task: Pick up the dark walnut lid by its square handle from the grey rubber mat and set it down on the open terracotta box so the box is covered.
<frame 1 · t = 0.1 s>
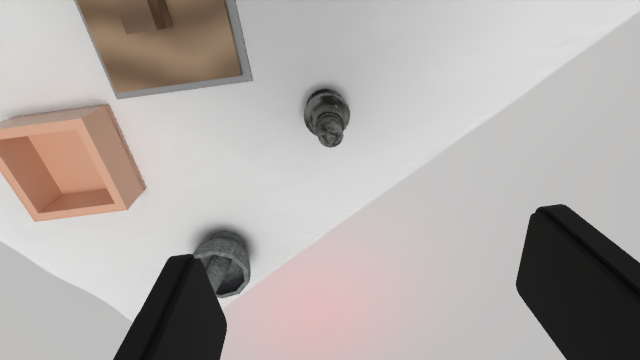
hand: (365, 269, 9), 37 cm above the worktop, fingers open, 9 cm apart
open terracotta box: (84, 154, 46), on the worktop
mortar and pestle: (225, 247, 56), on the worktop
rubber mat: (160, 13, 38), on the worktop
dark stone chess piece: (325, 107, 45), on the worktop
walnut lid: (159, 13, 38), resting on rubber mat
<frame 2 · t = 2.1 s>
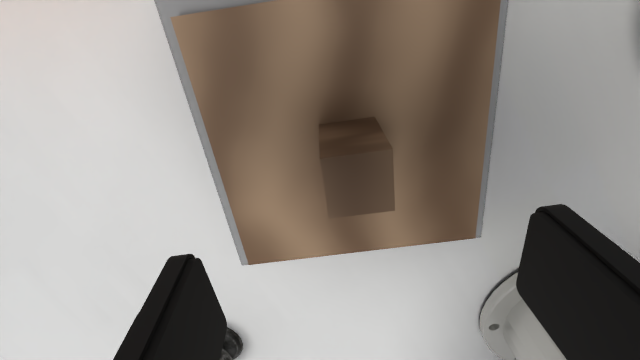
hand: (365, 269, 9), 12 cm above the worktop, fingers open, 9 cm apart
rubber mat: (346, 137, 20), on the worktop
dark stone chess piece: (214, 341, 30), on the worktop
walnut lid: (347, 139, 20), resting on rubber mat
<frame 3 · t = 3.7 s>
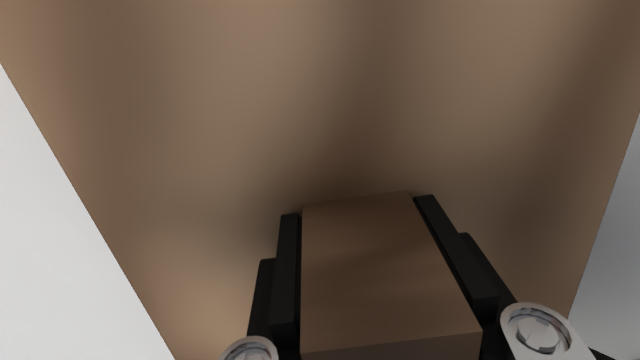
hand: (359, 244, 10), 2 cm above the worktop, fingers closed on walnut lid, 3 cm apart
walnut lid: (353, 216, 12), resting on rubber mat, touching gripper
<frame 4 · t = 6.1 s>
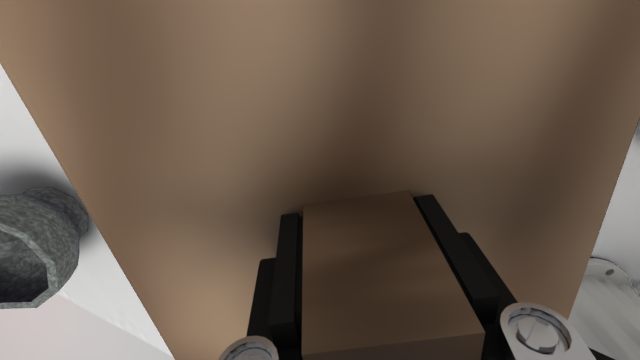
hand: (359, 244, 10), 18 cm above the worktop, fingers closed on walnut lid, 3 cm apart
mortar and pestle: (48, 210, 31), on the worktop
walnut lid: (354, 217, 12), point 17 cm above the worktop, touching gripper
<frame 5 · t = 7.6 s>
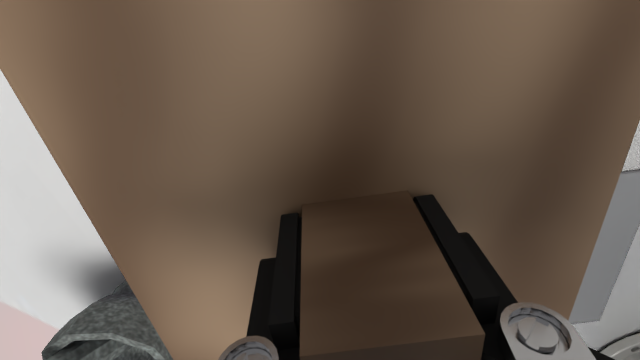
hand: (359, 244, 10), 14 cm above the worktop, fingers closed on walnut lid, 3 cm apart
mortar and pestle: (143, 296, 31), on the worktop
rubber mat: (524, 266, 30), on the worktop
walnut lid: (353, 217, 12), point 13 cm above the worktop, touching gripper
when the fingers open (9 cm above the worktop, at t = 8.7 s): walnut lid drops 1 cm, resting on open terracotta box.
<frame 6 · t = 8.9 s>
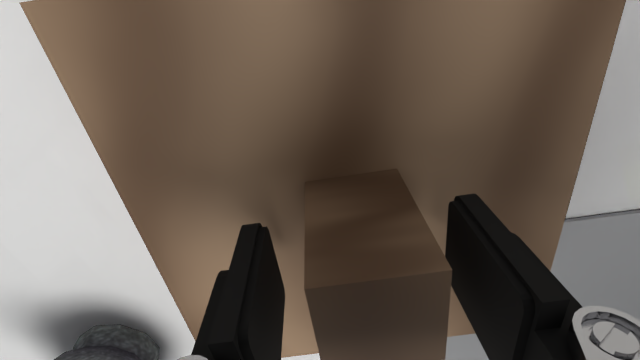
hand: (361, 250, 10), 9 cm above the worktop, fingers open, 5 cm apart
mortar and pestle: (112, 344, 26), on the worktop
rubber mat: (558, 307, 26), on the worktop
walnut lid: (350, 195, 13), point 6 cm above the worktop, touching open terracotta box
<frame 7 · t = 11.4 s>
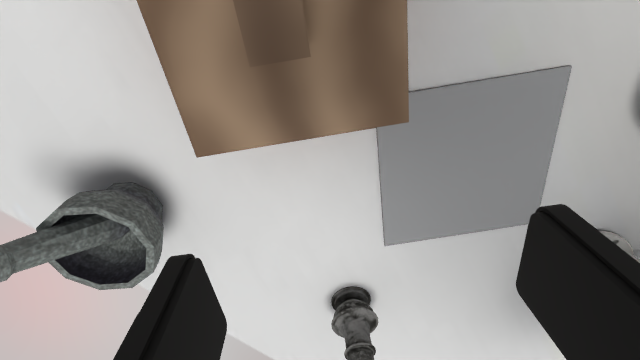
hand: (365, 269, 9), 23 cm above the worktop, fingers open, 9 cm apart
mortar and pestle: (126, 203, 34), on the worktop
rubber mat: (464, 167, 34), on the worktop
dark stone chess piece: (350, 299, 44), on the worktop
walnut lid: (279, 20, 21), point 6 cm above the worktop, touching open terracotta box
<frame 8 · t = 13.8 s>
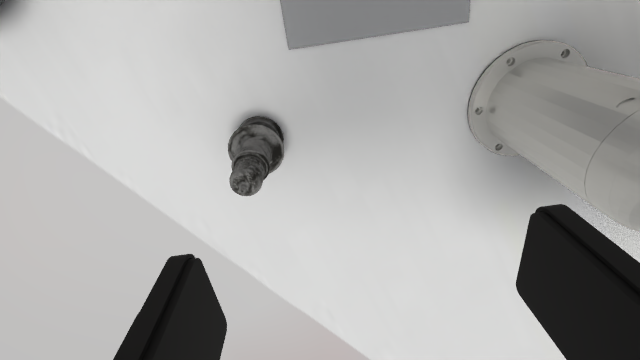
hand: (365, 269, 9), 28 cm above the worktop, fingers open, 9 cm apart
dark stone chess piece: (260, 138, 38), on the worktop
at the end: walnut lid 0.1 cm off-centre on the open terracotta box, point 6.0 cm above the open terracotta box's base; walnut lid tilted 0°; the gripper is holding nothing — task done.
